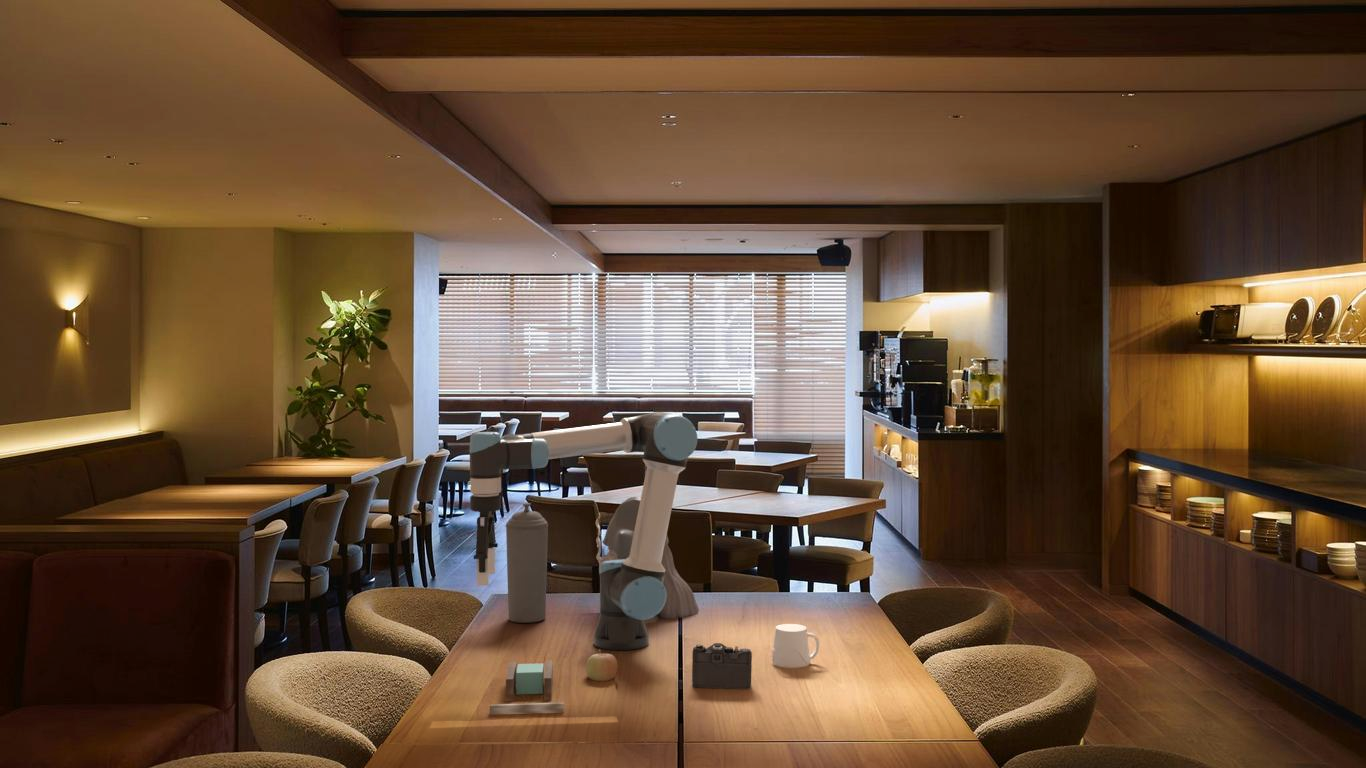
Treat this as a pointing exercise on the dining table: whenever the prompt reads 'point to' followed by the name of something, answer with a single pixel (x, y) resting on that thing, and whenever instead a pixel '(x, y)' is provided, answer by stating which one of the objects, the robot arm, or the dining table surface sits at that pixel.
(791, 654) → the mug
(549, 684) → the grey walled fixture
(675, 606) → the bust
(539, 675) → the block
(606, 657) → the fruit
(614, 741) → the dining table surface
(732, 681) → the camera
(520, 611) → the canister
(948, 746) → the dining table surface
